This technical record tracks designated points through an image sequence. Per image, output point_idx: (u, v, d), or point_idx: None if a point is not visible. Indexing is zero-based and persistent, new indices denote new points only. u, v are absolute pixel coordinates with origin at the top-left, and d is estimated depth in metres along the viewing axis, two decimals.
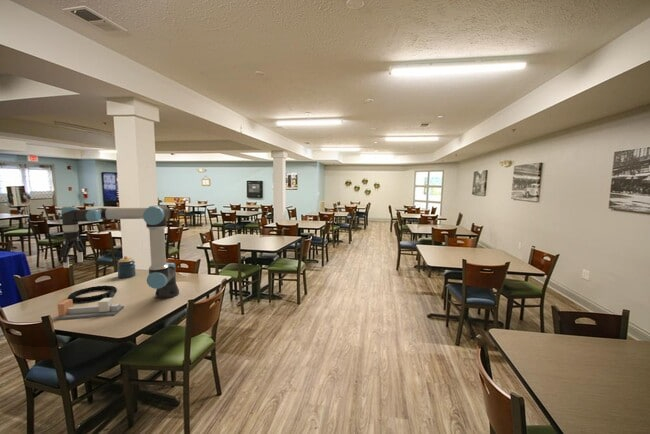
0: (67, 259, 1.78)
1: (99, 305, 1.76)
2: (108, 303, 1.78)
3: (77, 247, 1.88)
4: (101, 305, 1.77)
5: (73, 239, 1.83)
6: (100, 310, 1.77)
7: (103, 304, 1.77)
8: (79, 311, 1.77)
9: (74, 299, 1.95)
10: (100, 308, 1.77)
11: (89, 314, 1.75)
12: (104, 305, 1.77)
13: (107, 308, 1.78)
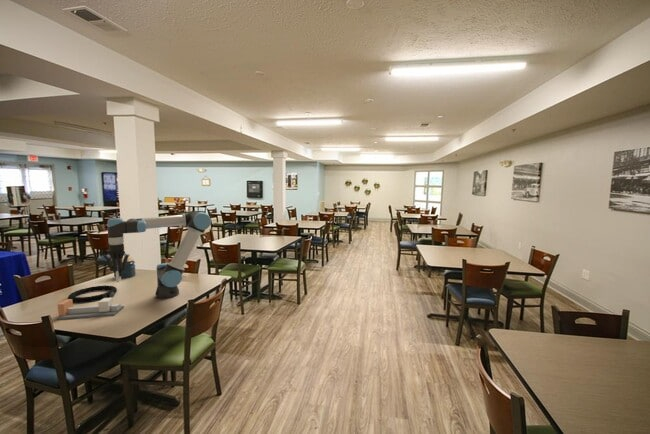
0: (116, 274, 1.78)
1: (99, 305, 1.76)
2: (108, 303, 1.78)
3: None
4: (101, 305, 1.77)
5: (115, 252, 1.77)
6: (100, 310, 1.77)
7: (103, 304, 1.77)
8: (79, 311, 1.77)
9: (74, 299, 1.95)
10: (100, 308, 1.77)
11: (89, 314, 1.75)
12: (104, 305, 1.77)
13: (107, 308, 1.78)
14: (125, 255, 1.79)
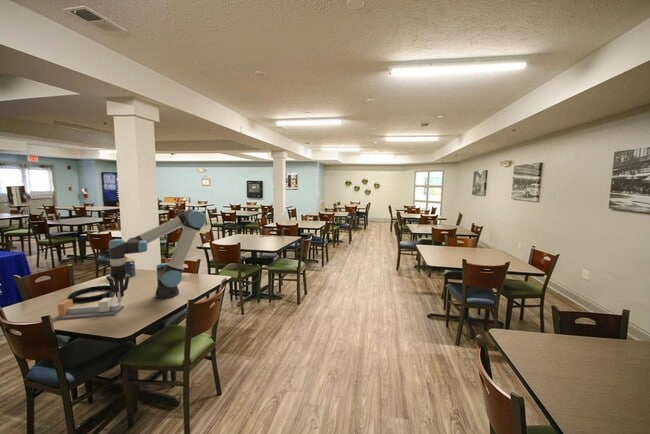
0: (117, 294, 1.80)
1: (99, 305, 1.76)
2: (108, 303, 1.78)
3: None
4: (101, 305, 1.77)
5: (117, 273, 1.79)
6: (100, 310, 1.77)
7: (103, 304, 1.77)
8: (79, 311, 1.77)
9: (74, 299, 1.95)
10: (100, 308, 1.77)
11: (89, 314, 1.75)
12: (104, 305, 1.77)
13: (107, 308, 1.78)
14: (127, 276, 1.80)
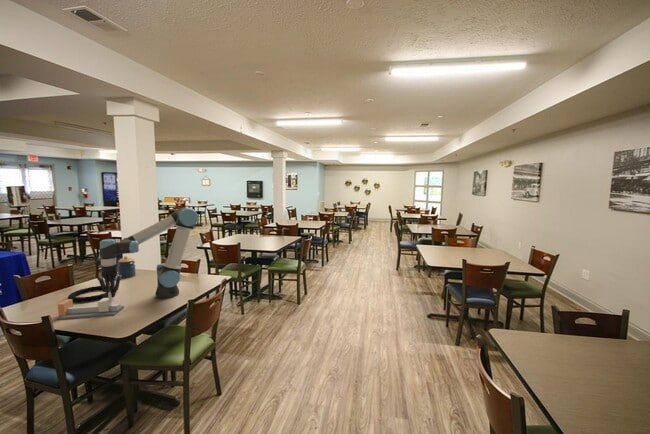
0: (108, 295, 1.79)
1: (99, 305, 1.76)
2: (108, 303, 1.78)
3: None
4: (101, 305, 1.77)
5: (108, 273, 1.78)
6: (100, 310, 1.77)
7: (103, 304, 1.77)
8: (79, 311, 1.77)
9: (74, 299, 1.95)
10: (100, 308, 1.77)
11: (89, 314, 1.75)
12: (104, 305, 1.77)
13: (107, 308, 1.78)
14: (118, 276, 1.79)
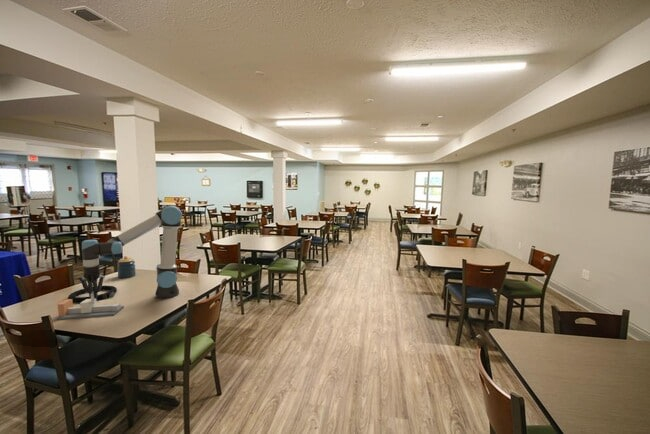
0: (91, 296, 1.77)
1: (81, 306, 1.75)
2: (90, 304, 1.76)
3: None
4: (83, 306, 1.75)
5: (90, 274, 1.76)
6: (82, 311, 1.75)
7: (85, 305, 1.75)
8: (79, 311, 1.77)
9: (74, 299, 1.95)
10: (82, 309, 1.75)
11: (89, 314, 1.75)
12: (86, 306, 1.75)
13: (89, 309, 1.76)
14: (100, 277, 1.78)
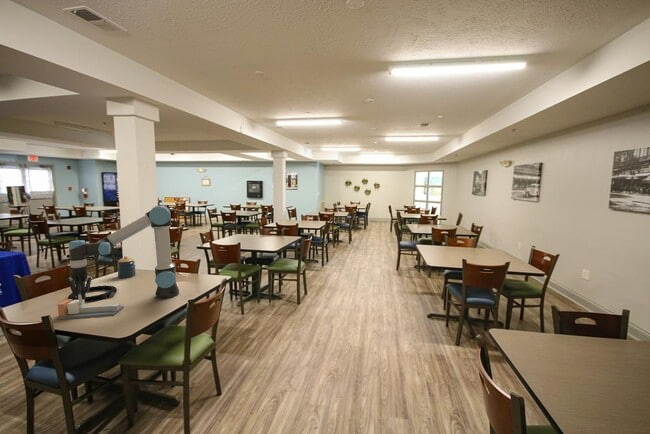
0: (78, 297, 1.76)
1: (68, 307, 1.73)
2: (78, 305, 1.75)
3: None
4: (70, 307, 1.74)
5: (78, 275, 1.75)
6: (69, 312, 1.74)
7: (72, 306, 1.74)
8: None
9: (74, 299, 1.95)
10: (69, 310, 1.74)
11: (89, 314, 1.75)
12: (73, 307, 1.74)
13: (77, 310, 1.75)
14: None
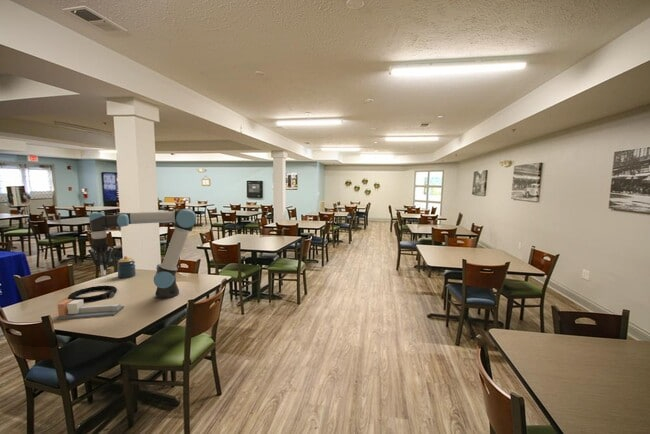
0: (100, 267, 1.81)
1: (68, 307, 1.73)
2: (77, 305, 1.75)
3: None
4: (70, 307, 1.74)
5: (99, 246, 1.79)
6: (69, 312, 1.74)
7: (72, 306, 1.74)
8: (79, 311, 1.77)
9: (74, 299, 1.95)
10: (69, 310, 1.74)
11: (89, 314, 1.75)
12: (73, 307, 1.74)
13: (76, 310, 1.75)
14: (109, 248, 1.81)
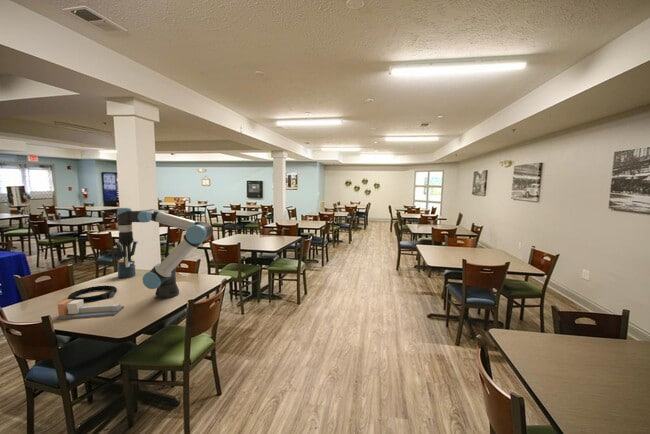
0: (125, 259, 1.93)
1: (68, 307, 1.73)
2: (77, 305, 1.75)
3: None
4: (70, 307, 1.74)
5: (124, 239, 1.91)
6: (69, 312, 1.74)
7: (72, 306, 1.74)
8: (79, 311, 1.77)
9: (74, 299, 1.95)
10: (69, 310, 1.74)
11: (89, 314, 1.75)
12: (73, 307, 1.74)
13: (76, 310, 1.75)
14: (134, 242, 1.93)
